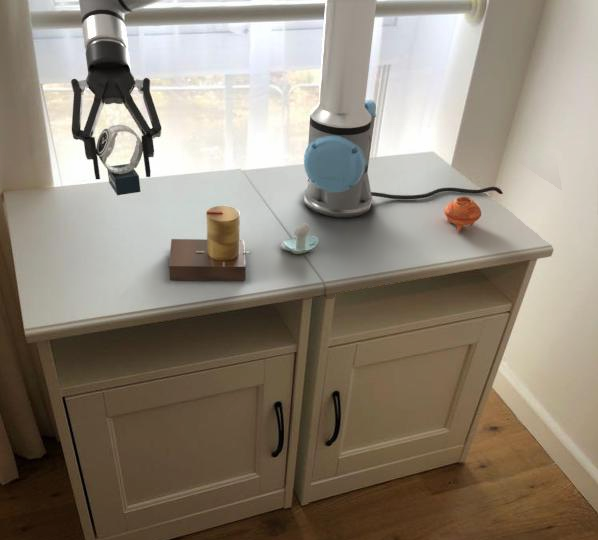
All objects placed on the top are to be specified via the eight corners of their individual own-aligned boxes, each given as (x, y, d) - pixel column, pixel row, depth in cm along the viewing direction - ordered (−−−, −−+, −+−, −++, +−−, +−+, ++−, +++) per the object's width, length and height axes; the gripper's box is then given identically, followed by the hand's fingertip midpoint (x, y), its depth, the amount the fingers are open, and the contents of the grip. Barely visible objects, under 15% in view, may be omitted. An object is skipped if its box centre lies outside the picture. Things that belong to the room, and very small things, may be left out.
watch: (98, 184, 123) (89, 124, 116) (140, 178, 126) (134, 119, 119) (106, 197, 120) (98, 136, 112) (150, 190, 123) (144, 130, 115)
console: (249, 253, 132) (249, 238, 130) (251, 281, 124) (251, 266, 122) (172, 252, 130) (171, 237, 128) (169, 280, 122) (168, 265, 120)
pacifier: (275, 246, 135) (289, 259, 131) (275, 217, 131) (290, 230, 127) (306, 239, 138) (320, 252, 134) (307, 211, 133) (323, 223, 130)
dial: (239, 244, 128) (239, 204, 122) (239, 260, 123) (240, 220, 118) (207, 244, 127) (206, 203, 122) (207, 260, 123) (206, 219, 117)
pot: (480, 236, 143) (481, 207, 138) (443, 238, 145) (442, 209, 140) (481, 218, 148) (481, 189, 144) (445, 220, 151) (444, 192, 146)
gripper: (165, 61, 124) (181, 180, 124) (48, 62, 120) (64, 185, 119) (166, 38, 117) (183, 164, 117) (42, 38, 112) (58, 169, 112)
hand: (123, 175), depth 118 cm, fingers closed on watch, 8 cm apart
